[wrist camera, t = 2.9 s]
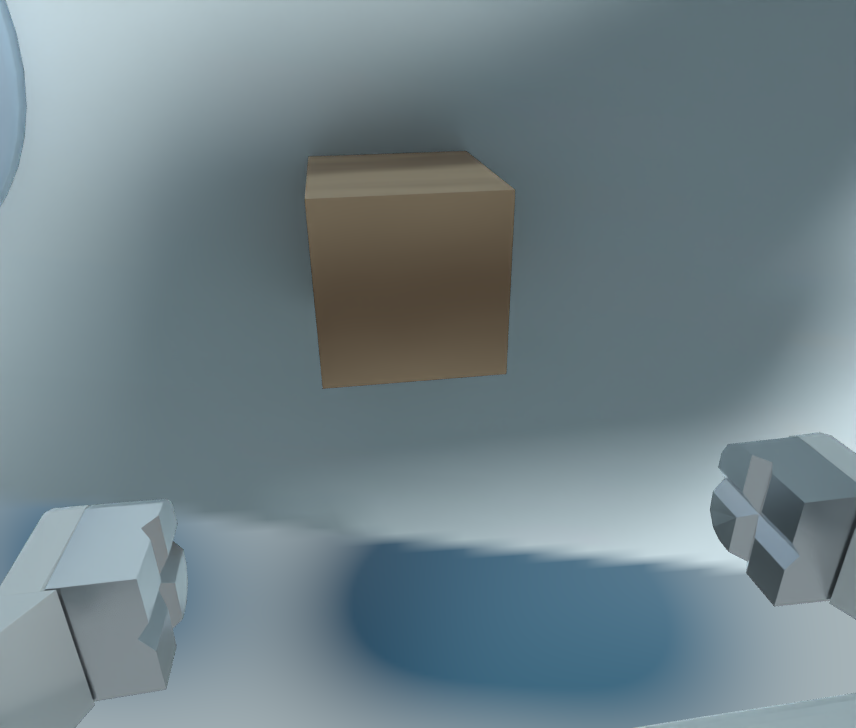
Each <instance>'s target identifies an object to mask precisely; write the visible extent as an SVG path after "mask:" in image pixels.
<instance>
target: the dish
mask: <svg viewBox="0 0 856 728" xmlns="http://www.w3.org/2000/svg"><path fill="white" fill-rule="evenodd" d="M26 107H27V104H26V91H25V77H24V68H23V63H22V58H21V54H20V49H19V44H18V39H17V34H16V31H15V28H14V25H13V22H12V19H11V16H10V13H9V10H8V7H7V4H6V0H0V206H1V204H2V203H3V201H4V199H5V198H6V196H7V194H8V192H9V189H10V187H11V184H12V181H13V179H14V176H15V174H16V171H17V169H18V165H19V161H20V156H21V152H22V147H23V142H24V137H25V122H26Z"/></svg>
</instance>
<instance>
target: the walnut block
mask: <svg viewBox="0 0 856 728" xmlns="http://www.w3.org/2000/svg"><path fill="white" fill-rule="evenodd" d="M514 206H515V189H514V188H512V187H511V186H510V185H509V184H507V183H506V182H505V181H504V180H502V179H501V178H500V177H498V176H497V175H496V174H495V173H493V172H492V171H491V170H490V169H488V168H487V167H486V166H485V165H483V164H482V163H481V162H480V161H478V160H477V159H476V158H474V157H473V156H472V155H471V154H469V153H468V152H467V151H448V152H420V153H392V154H364V155H336V156H308V165H307V177H306V188H305V209H306V220H307V230H308V240H309V251H310V261H311V272H312V282H313V292H314V303H315V313H316V324H317V334H318V344H319V355H320V365H321V376H322V386H323V389H326V388H338V387H350V386H363V385H375V384H388V383H400V382H412V381H425V380H437V379H450V378H462V377H475V376H487V375H499V374H506V370H507V350H508V329H509V309H510V288H511V267H512V247H513V226H514Z"/></svg>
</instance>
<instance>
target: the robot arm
mask: <svg viewBox="0 0 856 728" xmlns="http://www.w3.org/2000/svg"><path fill="white" fill-rule="evenodd" d="M718 468H719V469H720V471H721V473H722V474H723V476H724V478H725V479H724V480H723V481H722V482H721V483H720V484H719V485H718V486H717V488H716V489H715V490H714V491H713V494H712V500H711V506H710V513H711V519H712V524H713V528H714V530H715V532H716V534H717V537H718V539H719V540H720V542H721V543H722V544H723V545H724V547H725V548H726V549H727V550H728V552H730V553H732V554H734V555H736V556H738V557H740V558H742V559H744V560H746V561H747V568H746V573H747V575H748V576H749V577H750V578H751V579H752V581H753V582H754V583H755V584H756V585H757V586H758V588H759V589H760V590H761V591H762V592H763V594H764V595H765V596H766V597H767V598H768V600H769V601H770V602H771V603H772V604H773V606H783V605H793V604H802V603H812V602H821V601H830V604H831V605H833V606H834V607H836V608H838V609H839V610H841V611H843V612H844V613H846V614H847V615H849V616H851V617H852V618H854V619H856V453H855V452H853V451H852V450H850V449H849V448H848V447H846V446H845V445H844V444H842V443H841V442H840V441H838V440H837V439H835V438H834V437H833V436H831V435H828V434H824V433H820V432H819V433H811V434H804V435H796V436H789V437H787V438H778V439H769V440H760V441H751V442H742V443H733V444H728V445H727V446H726V448H725V449H724V450H723V452H722V454H721V458H720V462H719V466H718ZM177 524H178V523H177V519H176V515H175V511H174V507H173V504H172V503H171V502H170V501H169V499H157V500H144V501H131V502H119V503H106V504H93V505H91V506H89V505H82V506H72V507H62V508H52V509H51V510H49V511H47V512H45V513H44V514H43V515H42V517H41V519H40V520H39V522H38V523H37V525H36V527H35V528H34V530H33V532H32V533H31V535H30V537H29V539H28V540H27V542H26V543H25V545H24V547H23V549H22V550H21V552H20V553H19V555H18V557H17V559H16V560H15V562H14V564H13V565H12V567H11V569H10V570H9V572H8V574H7V575H6V577H5V579H4V580H3V582H2V584H1V586H0V728H75V727H76V726H77V725H78V724H79V723H80V722H81V720H82V719H83V718H84V717H85V716H86V715H87V713H88V712H89V711H90V710H91V709H92V708H93V707H94V701H99V700H105V699H111V698H117V697H123V696H130V695H136V694H142V693H148V692H154V691H160V690H165V689H166V688H167V683H168V679H169V675H170V671H171V667H172V662H173V659H174V655H175V650H176V642H175V637H174V633H173V628H174V627H175V626H176V625H177V624H178V623H179V622H180V621H181V620H182V619H183V616H184V611H185V606H186V602H187V585H188V577H187V566H186V560H185V555H184V550H183V549H182V548H181V547H180V546H179V545H177V544H176V543H175V542H174V541H173V538H174V535H175V531H176V528H177ZM636 728H856V693H851V694H844V695H838V696H832V697H825V698H820V699H813V700H807V701H800V702H794V703H788V704H781V705H775V706H768V707H762V708H756V709H749V710H743V711H737V712H731V713H725V714H718V715H712V716H705V717H699V718H693V719H687V720H680V721H674V722H668V723H662V724H655V725H649V726H643V727H636Z"/></svg>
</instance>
